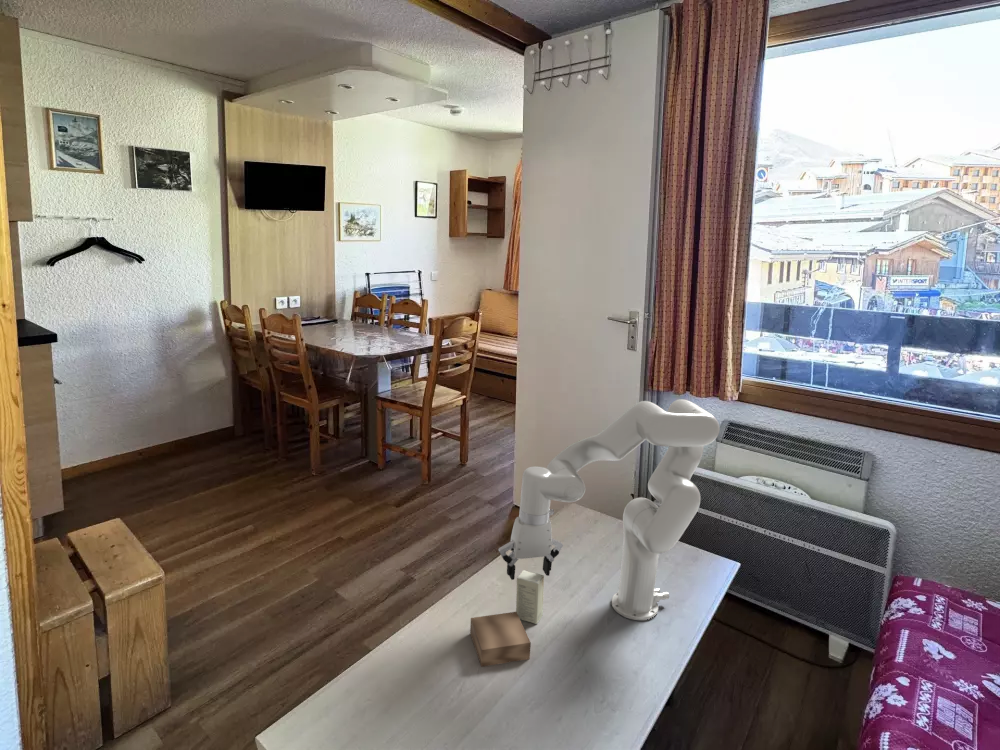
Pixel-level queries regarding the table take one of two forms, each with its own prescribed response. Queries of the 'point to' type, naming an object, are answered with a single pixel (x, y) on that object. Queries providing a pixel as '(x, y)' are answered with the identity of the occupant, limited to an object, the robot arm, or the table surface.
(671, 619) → the table surface
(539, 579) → the skincare box
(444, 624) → the table surface
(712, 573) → the table surface
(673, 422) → the robot arm
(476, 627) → the walnut block
